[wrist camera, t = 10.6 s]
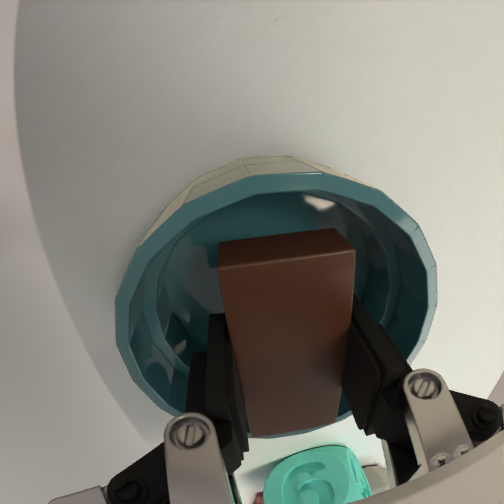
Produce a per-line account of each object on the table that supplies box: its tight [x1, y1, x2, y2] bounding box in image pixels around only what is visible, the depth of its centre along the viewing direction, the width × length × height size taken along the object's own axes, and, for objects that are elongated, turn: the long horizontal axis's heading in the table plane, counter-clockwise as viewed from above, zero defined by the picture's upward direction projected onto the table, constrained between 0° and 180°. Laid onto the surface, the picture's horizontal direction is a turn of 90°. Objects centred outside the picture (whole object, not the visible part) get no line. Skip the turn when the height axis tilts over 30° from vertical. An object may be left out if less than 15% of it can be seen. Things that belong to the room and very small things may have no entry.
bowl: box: [115, 156, 437, 439], centre depth 12 cm, size 12×12×5 cm
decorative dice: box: [263, 446, 372, 504], centre depth 19 cm, size 8×8×8 cm
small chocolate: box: [217, 228, 356, 437], centre depth 10 cm, size 8×4×2 cm, turn 6°
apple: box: [362, 466, 391, 495], centre depth 23 cm, size 8×8×7 cm
